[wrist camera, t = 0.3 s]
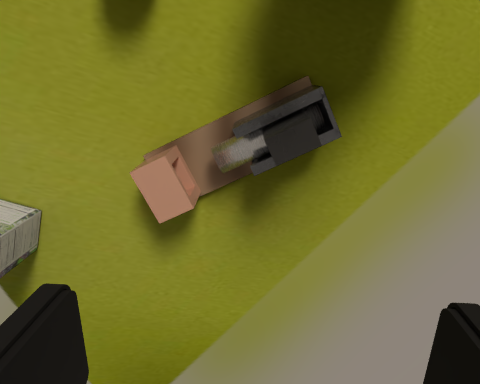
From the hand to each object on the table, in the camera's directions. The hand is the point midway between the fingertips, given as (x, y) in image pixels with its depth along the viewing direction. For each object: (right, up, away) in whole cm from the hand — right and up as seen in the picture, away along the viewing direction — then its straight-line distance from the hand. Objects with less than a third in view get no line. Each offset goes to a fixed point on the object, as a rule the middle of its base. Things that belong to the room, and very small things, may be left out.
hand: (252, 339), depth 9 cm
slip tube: (+2, +10, +28) cm, 30 cm away
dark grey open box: (+4, +11, +30) cm, 32 cm away
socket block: (-8, +6, +32) cm, 33 cm away
